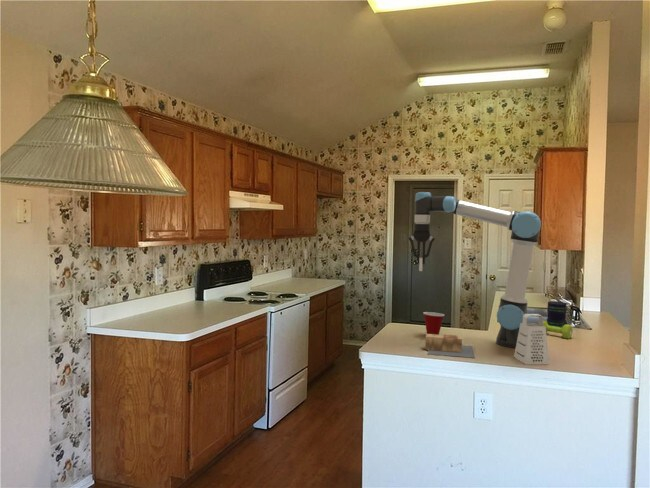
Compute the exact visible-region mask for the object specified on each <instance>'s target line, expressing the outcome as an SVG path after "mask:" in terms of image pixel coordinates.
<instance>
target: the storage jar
mask: <svg viewBox="0 0 650 488" xmlns="http://www.w3.org/2000/svg"><path fill="white" fill-rule="evenodd" d="M567 305H568V304H567V302H564V301H555V300H554V301H553V300H551V301H547V306H546V307H547V310H546V311H547V318H546V321H547V323H548V325H549V326H555V327H560V328H562V327H563V326H564V325H566V324H567V320H566V315H567Z"/></svg>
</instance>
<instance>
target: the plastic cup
mask: <svg viewBox="0 0 650 488" xmlns="http://www.w3.org/2000/svg"><path fill="white" fill-rule="evenodd" d="M422 314H423V317H424V323H425V330H426V334H437V335H440V331H441V327H442V324H443V320H444V317H445V314H444V313H439V312H432V311H425V312H424V311H423V312H422Z"/></svg>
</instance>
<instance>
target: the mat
mask: <svg viewBox="0 0 650 488" xmlns="http://www.w3.org/2000/svg"><path fill="white" fill-rule="evenodd" d="M474 352H475V351H474V348H473V346H472V345H470V346H469V345H462V351H461V352H450V351H437V350H428V352H427V353H428V356H429V355H431V356H432V355H433V356H441V355H443V357H454V358H455V357H457V358H466V359H468V358H469V359H476V356H475V353H474Z"/></svg>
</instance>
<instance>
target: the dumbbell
mask: <svg viewBox="0 0 650 488" xmlns="http://www.w3.org/2000/svg"><path fill="white" fill-rule="evenodd" d="M543 326H546V334H547V333H548V332H550V333H555V334H561V335H562V336H561V337H562V338H563V339H566V340H569V339H571V338H572V337H573V330H574V329H573V326H572V325H571V324H567V323H566V325H564V326H563V327H562V328H560V327H555V326H549V325H548V323H547V320H544V319H543Z"/></svg>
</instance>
